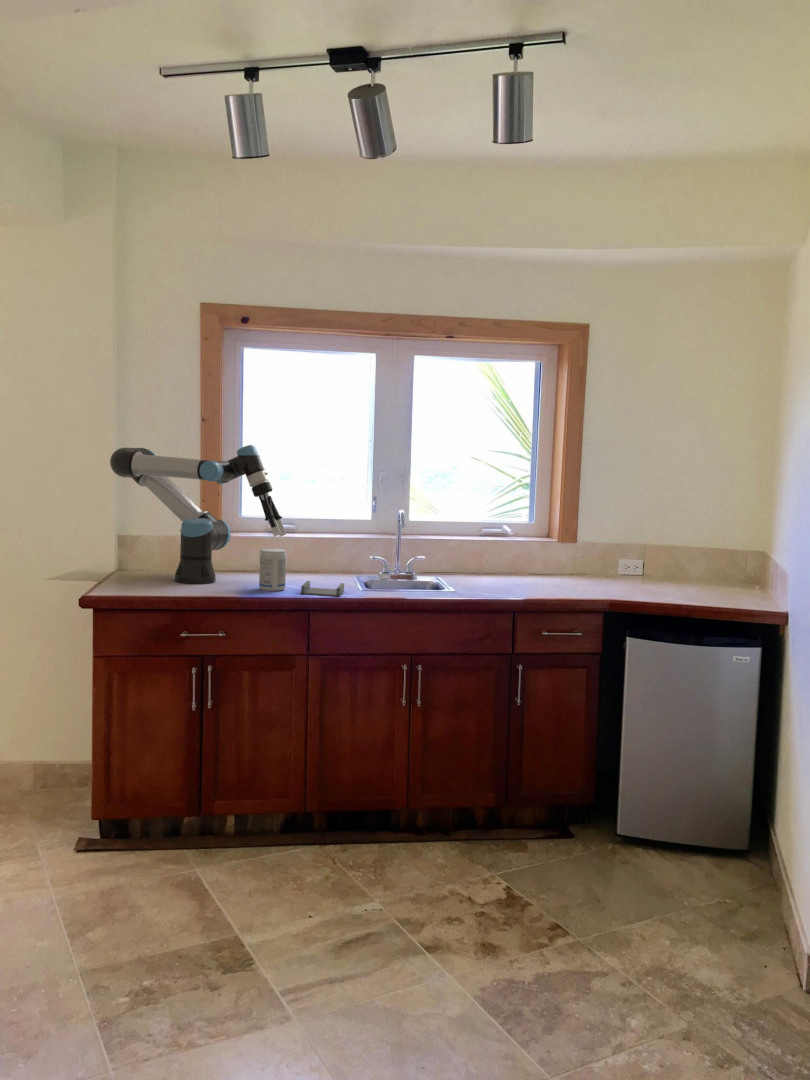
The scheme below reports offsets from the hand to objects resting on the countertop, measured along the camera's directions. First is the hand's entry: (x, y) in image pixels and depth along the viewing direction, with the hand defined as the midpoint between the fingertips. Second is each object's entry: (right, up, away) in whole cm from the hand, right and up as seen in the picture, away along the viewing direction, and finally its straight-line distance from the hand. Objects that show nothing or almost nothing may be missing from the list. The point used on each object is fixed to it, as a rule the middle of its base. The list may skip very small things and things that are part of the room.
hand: (280, 535), depth 346 cm
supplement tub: (-1, -20, -15) cm, 25 cm away
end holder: (+18, -21, -16) cm, 32 cm away
